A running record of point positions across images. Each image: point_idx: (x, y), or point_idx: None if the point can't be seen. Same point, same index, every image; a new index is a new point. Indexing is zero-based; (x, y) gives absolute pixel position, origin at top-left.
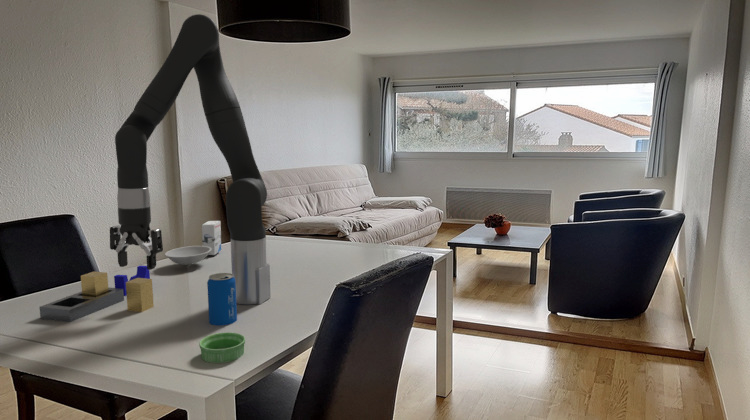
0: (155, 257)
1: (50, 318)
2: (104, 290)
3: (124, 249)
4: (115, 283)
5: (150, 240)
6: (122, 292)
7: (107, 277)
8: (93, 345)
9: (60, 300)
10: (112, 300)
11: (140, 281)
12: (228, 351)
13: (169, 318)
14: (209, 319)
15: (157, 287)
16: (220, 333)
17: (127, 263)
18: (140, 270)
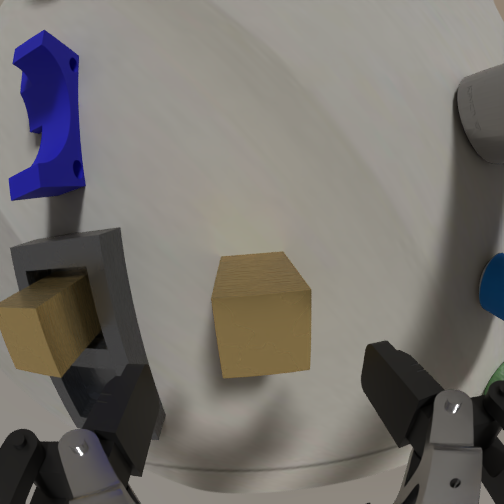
0: (436, 387)
1: None
2: (79, 303)
3: (112, 464)
4: (32, 197)
5: (470, 492)
6: (105, 238)
7: (48, 299)
8: (316, 453)
9: (61, 388)
10: (121, 288)
11: (284, 346)
12: None
13: (386, 304)
14: (487, 309)
15: (118, 60)
16: None
17: (144, 367)
18: (30, 62)
